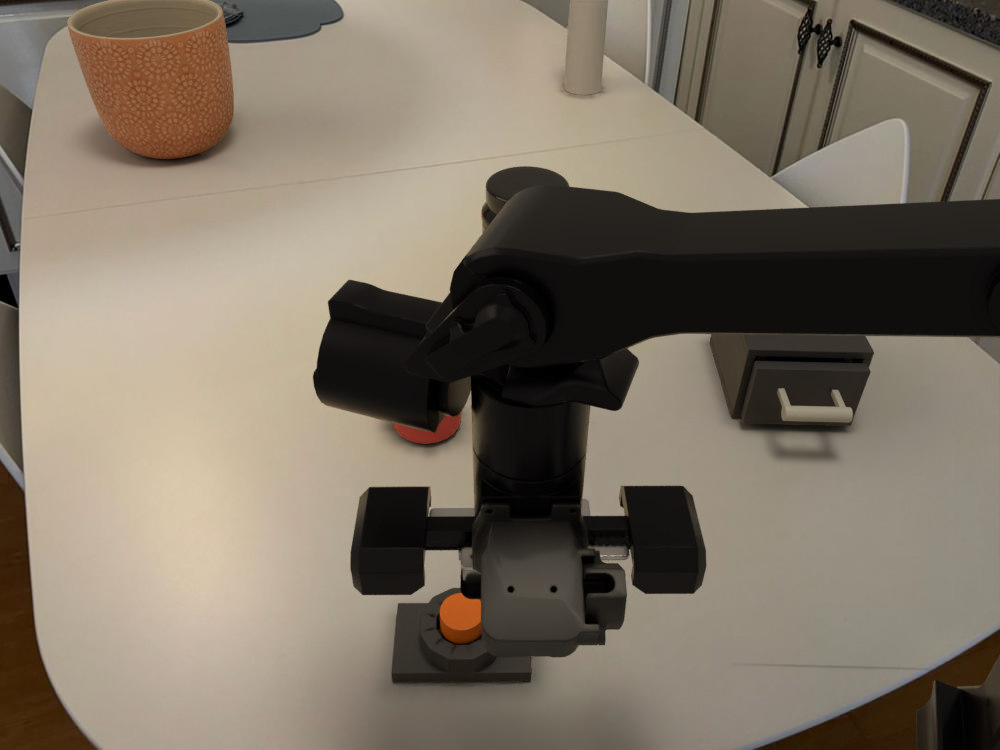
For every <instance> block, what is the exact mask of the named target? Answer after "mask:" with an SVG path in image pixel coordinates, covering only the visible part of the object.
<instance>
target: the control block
mask: <svg viewBox="0 0 1000 750" xmlns="http://www.w3.org/2000/svg"><path fill="white" fill-rule="evenodd" d="M457 593H461V590H460V587H451V588H449V589H447V590H444V591H443V592H441V593H440V592H439V594H436V595H434V596H433V597H432V598H431V599H430V600H429V601H428V602H398V603H397V609H396V619H395V628H394V629H395V631H394V640H393V641H394V643H393V652H392V664H391V681H392V683H485V682H486V683H487V682H488V683H489V682H490V683H491V682H492V683H495V682H496V683H498V682H499V683H503V682H504V683H505V682H509V683H511V682H513V683H514V682H518V683H519V682H520V683H522V682H523V683H524V682H525V683H526V682H531V681H532V675H533V674H532V673H533V670H532V668H533V667H532V657H511V658H502V657H496V656H494V655H492V654H490V653H489V652H488V651H487V650H486V648H485V647H484V644H483V642H482V634H481V635H480V637H479V638H478V639H476V640H475V641H473V642H471V643H468V644H456V643H453V642H450V641H449V640H447V639H446V638H445V637H444V635H443V634H442V632H441V628H440V607H441V605H442V603H443V602H444V600H445V599H446V598H448V597H449V596H451V595H453V594H457ZM479 600H480V601H481V599H479Z"/></svg>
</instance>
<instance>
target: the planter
mask: <svg viewBox="0 0 1000 750" xmlns="http://www.w3.org/2000/svg"><path fill="white" fill-rule="evenodd" d="M225 19H226V18H225V13H224V10H223V8H222V7H221V6H220V5H219V4H218V3H217V2H214V1H212V0H105V1H100V2H97V3H94V4H91V5H87V6H85V7H83V8H81V9H79V10H77V11H75V12H74V13H72V14H71V15H70V16H69V17H68V19H67V22H66V26H67V31H68V33H69V37H70V40H71V44H72V47H73V50H74V53H75V56H76V58H77V62H78V65H79V68H80V71H81V73H82V76H83V79H84V82H85V85H86V87H87V90H88V93H89V95H90V98H91V100H92V103H93V105H94V107H95V110H96V112H97V114H98V116H99V119H100V121H101V122H102V125H103V126H104V128H105V130H106V132H107V133H108V134H109V136H110V137H111V138H112V139H113V140H114V141H115V142H116V143H117V144H118V145H120V146H121V147H123V148H125V149H126V150H127V151H130V152H132V153H134V154H136V155H139V156H142V157H145V158H148V159H149V158H150V159H155V160H156V159H157V160H173V159H181V158H182V159H183V158H188V157H192V156H195V155H196V156H197V155H198V154H201V153H204V152H206V151H208V150H210V149H211V148H213V147H214V146H216V145H217V144H218V143H219V142H220V141H221V140H222V139H223V138H224V136H226V134H227V132H229V130H230V128H231V125H232V122H233V119H234V114H235V113H234V112H235V96H234V95H235V92H234V80H233V79H234V78H233V71H232V62H231V53H230V46H229V38H228V34H227V33H228V32H227V24H226V20H225Z"/></svg>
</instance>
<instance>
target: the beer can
mask: <svg viewBox="0 0 1000 750" xmlns="http://www.w3.org/2000/svg"><path fill="white" fill-rule="evenodd" d="M461 420H462V411H461V412H460V414H459V415H457V416H456V417H451V416H447V415H446V416H445V417H444V419H443V421H442V422H441V423H440V424H439V425H438V428H437V431H436V432H435V433H432V432H428V431H423V430H419V429H415V428H411V427H407V426H403V425H399V424H395V423H392V425H393V428H394V429H395V431H396V432H397V433H398V435H399V436H401V437H402V438H403V439H405V440H407V441H409V442H413V443H415V444H424V445H428V444H429V445H430V444H435V443H436V444H437V443H439V442H442V441H445V440H446V439H448V438H450V437H451V436H453V435H454V434H455V432H456V431H457V430H458V429H459V427H460V425H461Z"/></svg>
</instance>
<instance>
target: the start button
mask: <svg viewBox="0 0 1000 750" xmlns="http://www.w3.org/2000/svg"><path fill="white" fill-rule="evenodd" d="M440 628H441V632H442V634H443V635H444V637H445V638H446V639H447V640H449V641H450V642H453V643H456V644H468V643H471V642H473V641H475V640H476V639H478V638H479V637H480V635H481V634H482V630H481V601H480V600H479V599H468V598H466V597H464V596H463V595H462V593H457V594H453V595H451V596H449V597H448V598H446V599H445V600H444V602H443V603H442V605H441V607H440Z"/></svg>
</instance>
